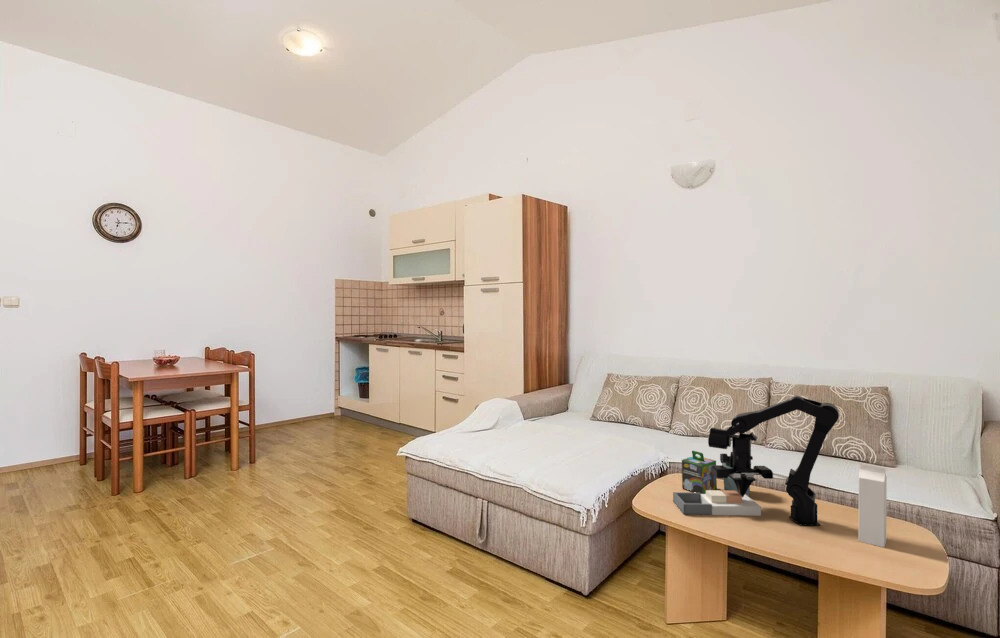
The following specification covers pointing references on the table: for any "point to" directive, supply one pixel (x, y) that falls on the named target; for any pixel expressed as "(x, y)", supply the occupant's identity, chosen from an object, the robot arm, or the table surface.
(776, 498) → the table surface
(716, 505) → the board
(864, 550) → the table surface
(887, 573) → the table surface
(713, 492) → the tile
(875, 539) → the milk
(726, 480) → the grey-blue cup
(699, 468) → the chalk box
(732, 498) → the tile
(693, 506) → the tray
